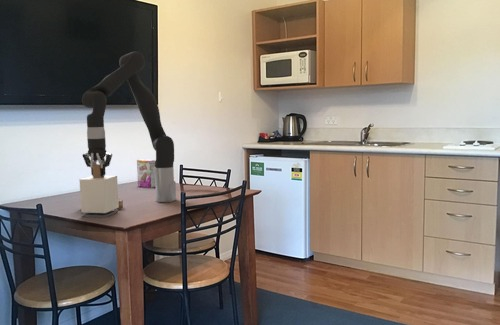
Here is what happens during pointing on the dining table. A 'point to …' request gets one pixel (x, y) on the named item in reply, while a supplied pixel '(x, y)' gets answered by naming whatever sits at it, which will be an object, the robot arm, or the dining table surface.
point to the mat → (100, 214)
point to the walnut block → (120, 204)
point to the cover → (98, 192)
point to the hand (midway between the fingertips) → (98, 176)
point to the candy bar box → (146, 173)
